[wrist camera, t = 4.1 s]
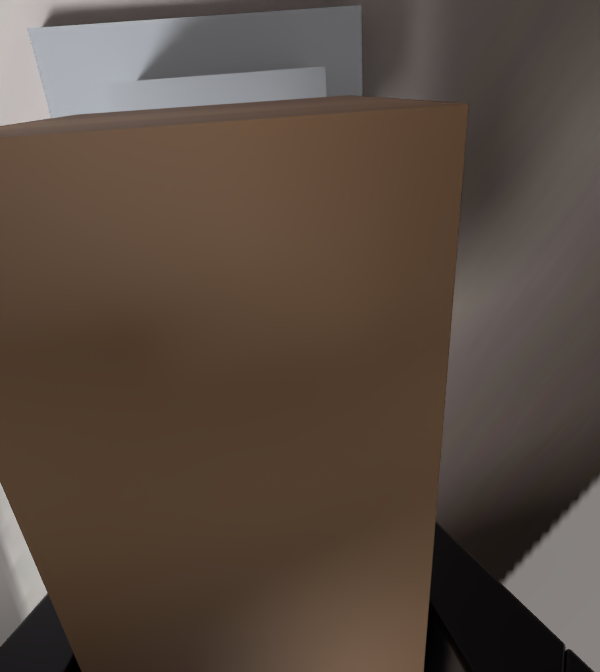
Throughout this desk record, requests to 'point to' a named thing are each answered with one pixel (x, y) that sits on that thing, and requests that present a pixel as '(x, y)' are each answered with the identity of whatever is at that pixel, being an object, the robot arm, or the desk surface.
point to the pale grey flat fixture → (200, 60)
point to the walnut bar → (231, 377)
